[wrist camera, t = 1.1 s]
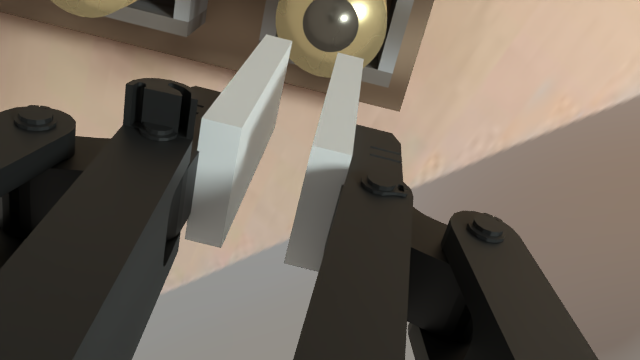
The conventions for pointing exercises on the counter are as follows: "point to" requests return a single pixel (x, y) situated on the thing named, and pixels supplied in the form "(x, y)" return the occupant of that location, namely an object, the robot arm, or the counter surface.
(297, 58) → the knob
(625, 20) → the counter surface
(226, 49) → the mount
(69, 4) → the knob middle
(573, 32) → the counter surface
